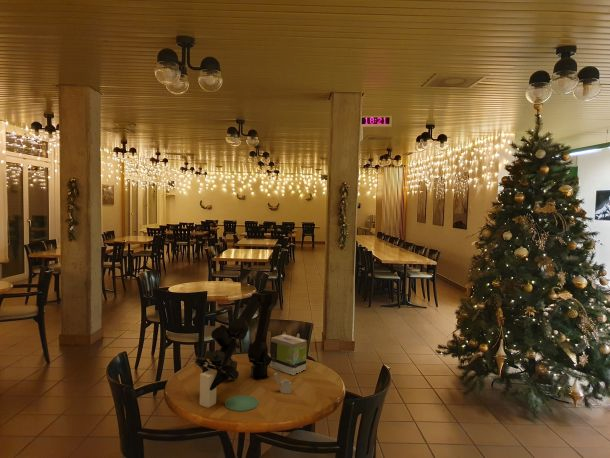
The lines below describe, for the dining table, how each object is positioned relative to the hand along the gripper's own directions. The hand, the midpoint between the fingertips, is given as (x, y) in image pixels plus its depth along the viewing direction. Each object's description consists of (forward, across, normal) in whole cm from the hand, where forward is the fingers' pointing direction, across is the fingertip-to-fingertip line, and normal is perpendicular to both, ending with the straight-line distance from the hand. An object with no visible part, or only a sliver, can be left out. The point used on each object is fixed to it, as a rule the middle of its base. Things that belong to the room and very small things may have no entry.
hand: (205, 388), depth 165 cm
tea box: (-31, +5, +40) cm, 51 cm away
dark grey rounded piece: (-12, -9, +22) cm, 26 cm away
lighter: (-14, +17, +24) cm, 33 cm away
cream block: (+4, 0, +6) cm, 7 cm away
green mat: (-2, +10, +11) cm, 15 cm away
